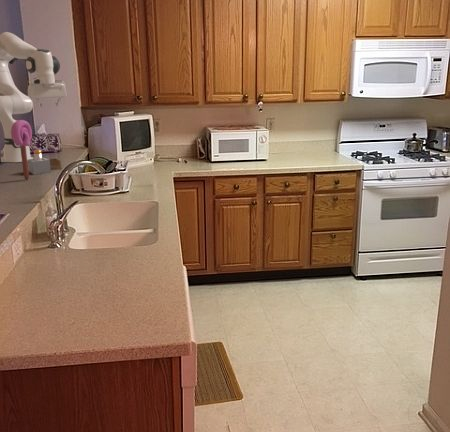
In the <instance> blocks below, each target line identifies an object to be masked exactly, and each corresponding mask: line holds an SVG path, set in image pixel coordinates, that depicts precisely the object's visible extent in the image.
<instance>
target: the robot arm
mask: <svg viewBox="0 0 450 432" xmlns="http://www.w3.org/2000/svg"><path fill="white" fill-rule="evenodd" d="M19 59H21V60H22V59H23V60H25V61H24V63H25V69H26V70H27V72H28V73H29V74H31V75H37V76H36V77H35V78H34V77H33V78H32V79H29V80H28V83H29V84H28V87H27V95H26V94H24V93H23V92H22V91H20V89H18V86H16V85H15V81H14V80H13V77H12V75H11V71H10V68H9V65H13V64H14V63H15V62H17V61H18V60H19ZM60 69H61V63H60V61H59V60H58V58H57V57H56V56H54V55H52V52H51V51H50V50H49V49H45V48H37V47H35V46H33V45H31V44H29V43H27V42H26V41H24V40H23V39H21V38H20V37H19V36H17V35H16V34H15V33H12V32H10V31H9V32H8V31H5V32H2V33H1V34H0V94H1V95H0V123H1V125H2V129H3V135H4V138H3V141H4V142H3V143H4V147H3V148H2V149H1V150H0V154H1V155H2V156H1V157H0V162H1V163H22V157H21V149H20V145H19V146H17V145H16V144H15V143H14V141H13V139H12V137H11V128H12V125H13V124H14V123H15V122H16V121H18V120H16V119H14V118H13V115H22V114H23V115H24V114H27V113H30V112H31V111H32V109H33V107H34V103H33V99H35V100H34V101H35V102H36V103H37V105H38V106H37V107H38V108H43V106H42V105H43V104H42V103H41V102H40V99H53V98H54V99H56V100H57V101H56V102H55V107H60V102H61V101H62V98H67V96H68V94H67V88H66V87H67V86H66V82H65V81H64V80H56V79H55V75H57V73H59V71H60ZM29 146H30V145H29ZM29 146H26V153H27V162H28V159H34V156H31V151H30V147H29Z"/></svg>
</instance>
